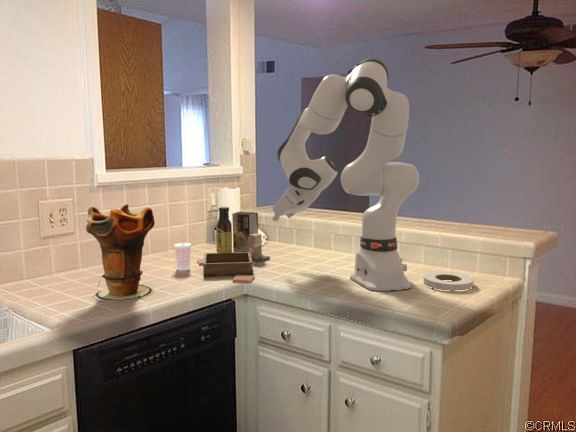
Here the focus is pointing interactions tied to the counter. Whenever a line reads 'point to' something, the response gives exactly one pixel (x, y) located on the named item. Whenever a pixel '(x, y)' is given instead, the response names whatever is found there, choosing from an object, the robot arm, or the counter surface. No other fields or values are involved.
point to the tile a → (200, 261)
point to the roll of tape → (457, 281)
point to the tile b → (243, 278)
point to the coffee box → (243, 229)
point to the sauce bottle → (224, 232)
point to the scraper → (256, 248)
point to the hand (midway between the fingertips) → (281, 218)
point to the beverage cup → (182, 255)
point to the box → (227, 264)
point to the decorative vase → (121, 251)
